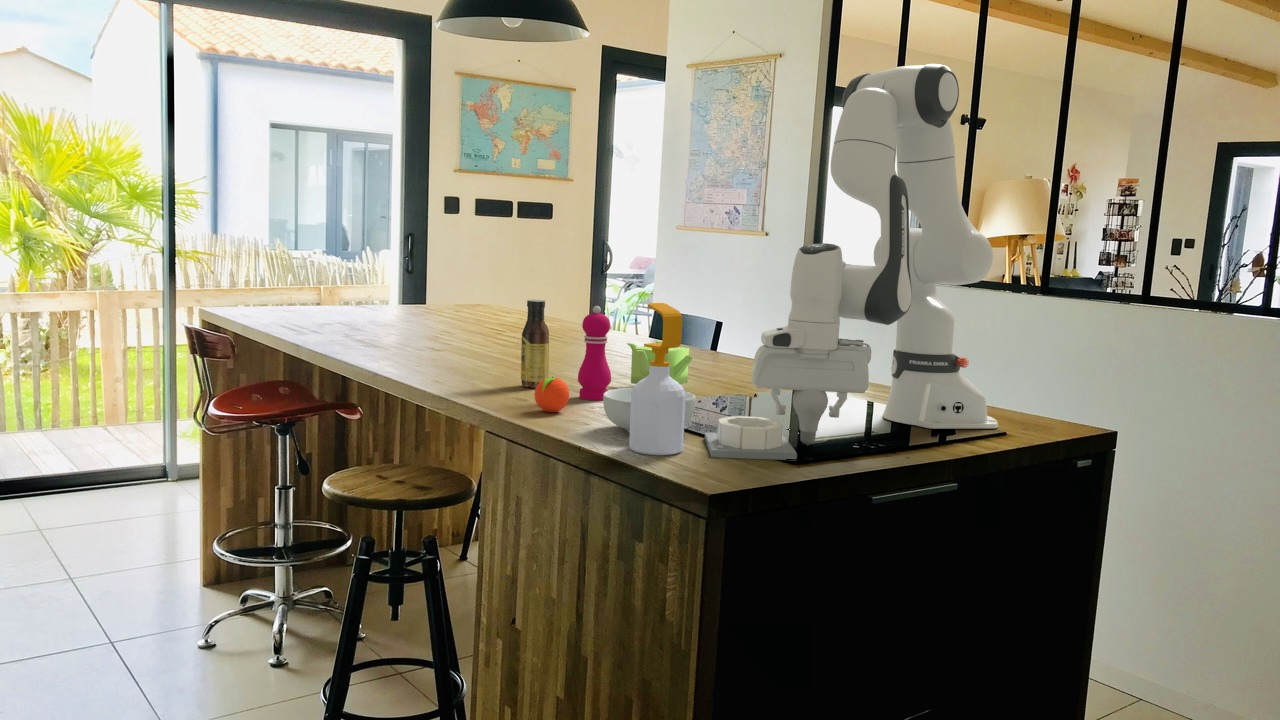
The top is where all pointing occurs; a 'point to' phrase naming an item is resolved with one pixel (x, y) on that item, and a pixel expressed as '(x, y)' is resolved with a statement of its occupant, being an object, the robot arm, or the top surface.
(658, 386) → the soap bottle
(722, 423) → the socket ring
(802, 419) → the lightbulb
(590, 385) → the pepper mill
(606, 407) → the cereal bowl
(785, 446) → the mounting plate
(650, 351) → the kettle
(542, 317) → the sauce bottle
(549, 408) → the clementine
